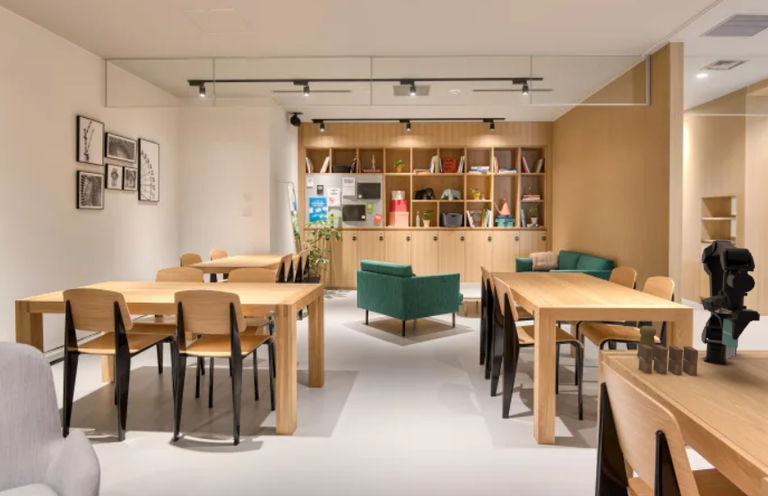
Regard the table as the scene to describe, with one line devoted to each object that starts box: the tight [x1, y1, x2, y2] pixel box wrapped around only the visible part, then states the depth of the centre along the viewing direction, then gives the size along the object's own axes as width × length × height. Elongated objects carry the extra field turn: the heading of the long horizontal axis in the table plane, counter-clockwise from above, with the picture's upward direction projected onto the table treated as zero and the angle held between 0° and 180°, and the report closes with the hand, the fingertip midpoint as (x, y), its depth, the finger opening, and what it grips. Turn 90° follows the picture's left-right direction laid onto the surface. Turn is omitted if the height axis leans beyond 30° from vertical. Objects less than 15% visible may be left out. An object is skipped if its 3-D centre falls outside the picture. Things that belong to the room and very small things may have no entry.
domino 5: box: [722, 319, 739, 349], centre depth 164 cm, size 2×5×8 cm, turn 175°
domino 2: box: [652, 344, 669, 375], centre depth 167 cm, size 2×5×8 cm, turn 175°
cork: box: [636, 325, 657, 361], centre depth 183 cm, size 6×6×11 cm
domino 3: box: [667, 345, 684, 376], centre depth 166 cm, size 2×5×8 cm, turn 174°
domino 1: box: [638, 344, 653, 375], centre depth 167 cm, size 2×5×8 cm, turn 174°
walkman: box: [726, 346, 738, 359], centre depth 187 cm, size 8×3×12 cm, turn 141°
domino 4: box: [682, 345, 699, 377], centre depth 166 cm, size 2×5×8 cm, turn 174°
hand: (730, 337), depth 164 cm, fingers closed on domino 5, 5 cm apart
